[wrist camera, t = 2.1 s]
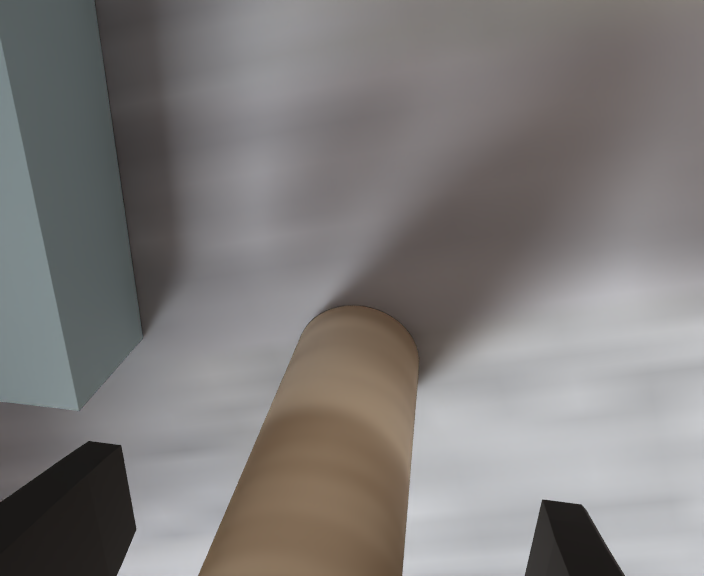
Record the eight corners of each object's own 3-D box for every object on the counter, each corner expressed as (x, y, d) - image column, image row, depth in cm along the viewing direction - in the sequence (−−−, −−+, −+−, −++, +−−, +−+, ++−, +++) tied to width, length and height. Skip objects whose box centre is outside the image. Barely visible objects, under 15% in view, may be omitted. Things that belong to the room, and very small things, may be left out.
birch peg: (414, 416, 15) (383, 784, 8) (298, 402, 16) (171, 746, 9) (424, 311, 14) (397, 644, 7) (296, 299, 14) (146, 605, 7)
